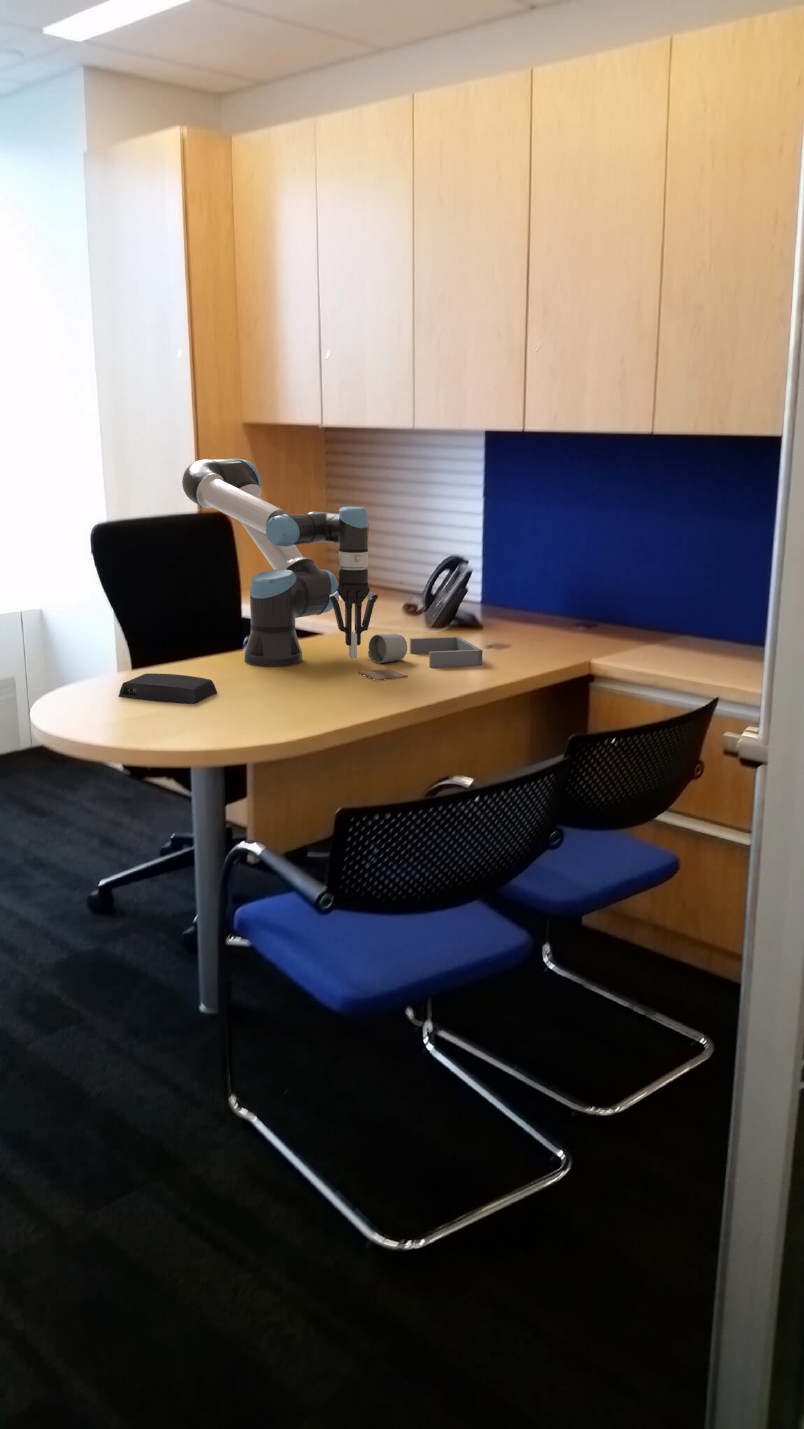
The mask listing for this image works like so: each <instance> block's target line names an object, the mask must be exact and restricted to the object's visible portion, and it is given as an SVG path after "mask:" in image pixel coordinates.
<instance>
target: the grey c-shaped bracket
mask: <svg viewBox="0 0 804 1429" xmlns="http://www.w3.org/2000/svg"><path fill="white" fill-rule="evenodd" d="M409 653H410V654H427V653H428V654H429V657H428V658H429V660H428V666H429V667H428V668H451V667H453V668H454V667H476V666H479V667H480V666H483V650H482V649H481V648H479V647H477V646H476V645H474V644H472V643H470V642H469V641H467V640H465V639H463V638H462V637H461V636H440V637H439V636H437V637H436V636H435V637H411V638H409Z"/></svg>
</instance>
